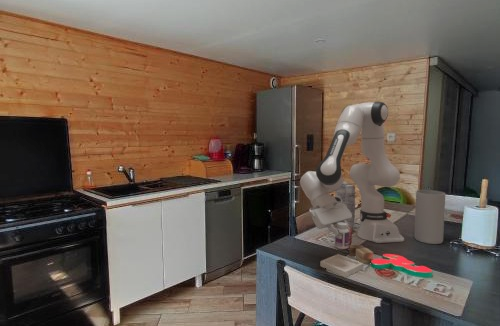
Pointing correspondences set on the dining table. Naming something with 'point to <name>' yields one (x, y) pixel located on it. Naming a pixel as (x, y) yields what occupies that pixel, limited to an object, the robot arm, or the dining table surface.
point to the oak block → (364, 255)
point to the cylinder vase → (429, 216)
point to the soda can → (349, 238)
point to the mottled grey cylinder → (348, 199)
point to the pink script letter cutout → (401, 265)
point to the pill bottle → (342, 236)
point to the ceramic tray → (341, 265)
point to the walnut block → (354, 249)
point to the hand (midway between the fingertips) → (343, 233)
